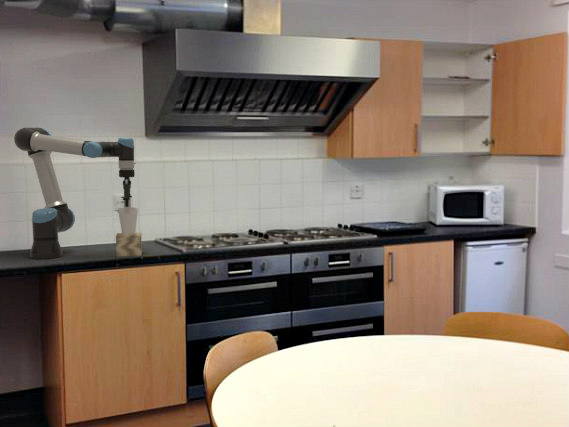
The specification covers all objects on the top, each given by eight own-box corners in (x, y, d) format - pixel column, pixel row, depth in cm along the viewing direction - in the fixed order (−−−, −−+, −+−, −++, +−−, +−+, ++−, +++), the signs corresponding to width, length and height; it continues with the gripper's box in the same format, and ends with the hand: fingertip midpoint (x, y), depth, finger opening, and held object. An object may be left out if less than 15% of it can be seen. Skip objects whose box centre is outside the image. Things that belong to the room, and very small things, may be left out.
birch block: (116, 256, 357) (115, 236, 356) (117, 252, 369) (117, 233, 368) (141, 255, 359) (140, 235, 358) (141, 252, 371) (141, 232, 370)
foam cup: (138, 232, 368) (138, 207, 367) (137, 235, 359) (137, 208, 358) (119, 233, 367) (118, 207, 365) (118, 235, 358) (117, 209, 356)
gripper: (133, 170, 348) (134, 214, 350) (135, 168, 372) (135, 209, 375) (117, 170, 347) (118, 214, 349) (120, 168, 371) (120, 209, 373)
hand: (127, 212), depth 362 cm, fingers open, 13 cm apart
